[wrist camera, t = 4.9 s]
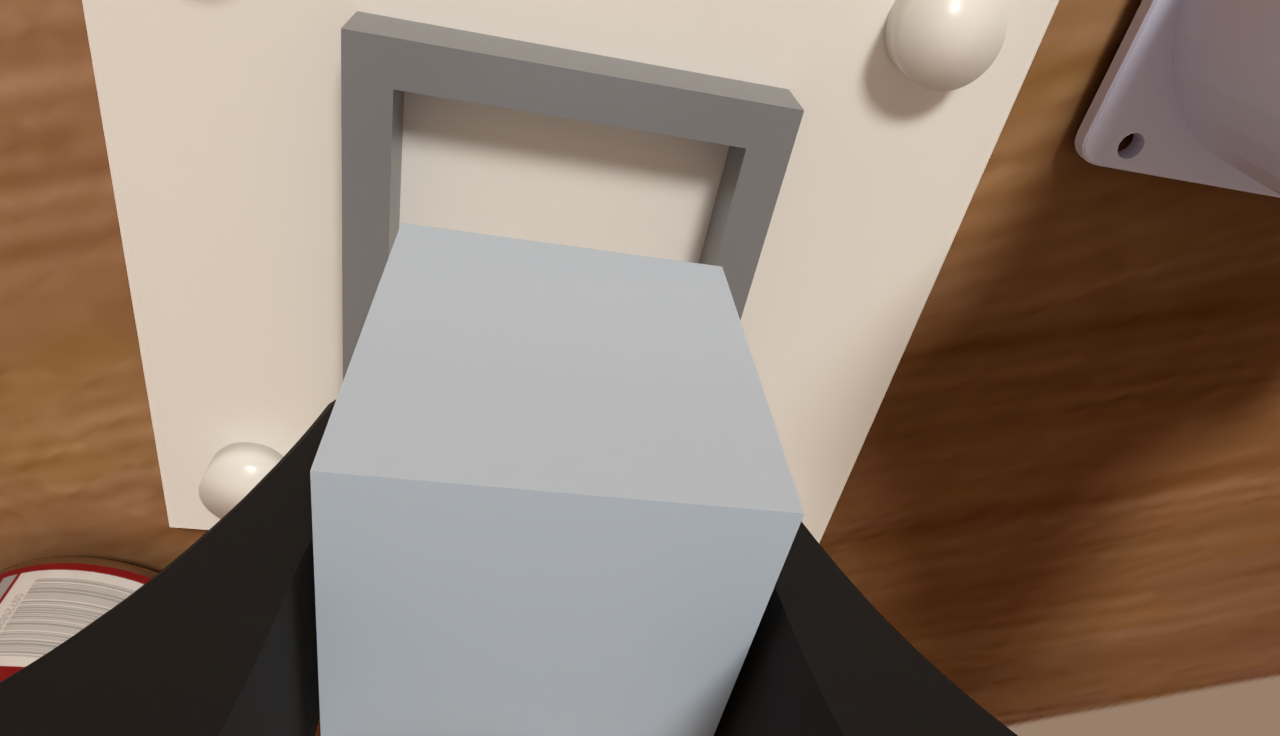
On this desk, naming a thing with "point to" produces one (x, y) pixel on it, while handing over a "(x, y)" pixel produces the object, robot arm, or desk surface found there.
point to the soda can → (57, 603)
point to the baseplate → (536, 184)
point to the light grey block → (544, 497)
